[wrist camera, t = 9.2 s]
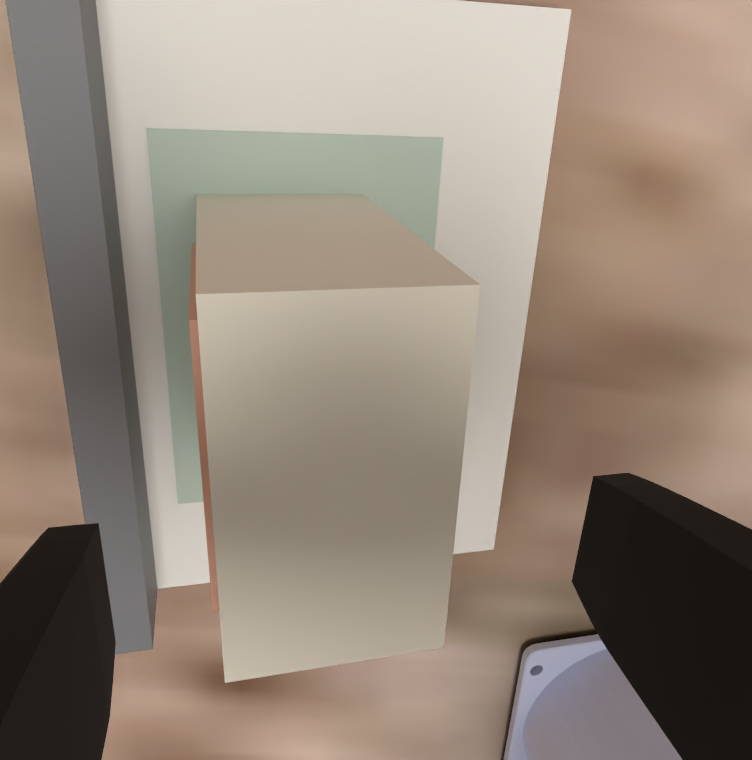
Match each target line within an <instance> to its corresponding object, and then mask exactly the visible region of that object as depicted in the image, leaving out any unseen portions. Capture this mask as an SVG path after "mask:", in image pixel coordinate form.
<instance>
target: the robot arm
mask: <svg viewBox="0 0 752 760" xmlns="http://www.w3.org/2000/svg"><path fill="white" fill-rule="evenodd" d="M572 583H573V585H574V587H575V589H576V591H577V593H578V595H579V597H580V600H581V602H582V604H583V606H584V608H585V610H586V612H587V614H588V616H589V618H590V620H591V622H592V624H593V626H594V627H595V629H596V631H597V633H598V634H596V635H589V636H583V637H576V638H570V639H563V640H556V641H550V642H543V643H537V644H533V645H530V646H529V647H527V648H526V649H525V651H524V652H523V655H522V660H521V665H520V671H519V676H518V682H517V688H516V693H515V699H514V704H513V710H512V715H511V721H510V727H509V732H508V738H507V743H506V749H505V755H504V760H752V529H749V528H747V527H745V526H743V525H741V524H739V523H737V522H735V521H733V520H731V519H729V518H727V517H725V516H723V515H721V514H719V513H717V512H714V511H712V510H710V509H708V508H706V507H704V506H702V505H700V504H698V503H696V502H694V501H692V500H690V499H688V498H686V497H683V496H681V495H679V494H677V493H675V492H673V491H671V490H669V489H666V488H664V487H662V486H660V485H657V484H655V483H653V482H651V481H648V480H646V479H643V478H641V477H638V476H635V475H633V474H630V473H622V474H612V475H601V476H593V481H592V486H591V491H590V495H589V500H588V505H587V510H586V515H585V520H584V525H583V530H582V535H581V539H580V544H579V549H578V554H577V559H576V564H575V569H574V574H573V579H572ZM115 645H116V641H115V634H114V627H113V620H112V613H111V606H110V599H109V592H108V585H107V578H106V571H105V564H104V557H103V550H102V543H101V536H100V529H99V523H94V524H83V525H73V526H62V527H52V528H48V529H47V530H46V531H45V532H44V533H43V534H42V535H41V536H40V537H39V538H38V539H37V541H36V542H35V543H34V544H33V545H32V546H31V547H30V549H29V550H28V551H27V552H26V553H25V555H24V556H23V557H22V558H21V559H20V561H19V562H18V563H17V564H16V565H15V566H14V568H13V569H12V570H11V571H10V572H9V574H8V575H7V576H6V577H5V578H4V579H3V581H2V582H1V583H0V760H101V759H102V753H103V748H104V743H105V738H106V733H107V728H108V723H109V717H110V707H111V696H112V684H113V671H114V658H115Z"/></svg>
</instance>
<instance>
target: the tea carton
mask: <svg viewBox="0 0 752 760" xmlns="http://www.w3.org/2000/svg"><path fill="white" fill-rule="evenodd" d="M479 293H480V284H479V283H478V282H476V281H475V280H474V279H472V278H471V277H470V276H468V275H467V274H466V273H465V272H463V271H462V270H461V269H459V268H458V267H457V266H455V265H454V264H453V263H452V262H450V261H449V260H448V259H446V258H445V257H444V256H442V255H441V254H440V253H439V252H437V251H436V250H435V249H433V248H432V247H431V246H429V245H428V244H427V243H426V242H424V241H423V240H422V239H420V238H419V237H418V236H416V235H415V234H414V233H412V232H411V231H410V230H409V229H407V228H406V227H405V226H403V225H402V224H401V223H399V222H398V221H397V220H396V219H394V218H393V217H392V216H390V215H389V214H388V213H386V212H385V211H384V210H383V209H381V208H380V207H379V206H377V205H376V204H375V203H373V202H372V201H371V200H370V199H368V198H367V197H366V196H364V195H363V194H197V204H196V243H192V245H191V272H190V300H189V329H190V342H191V354H192V366H193V379H194V391H195V403H196V416H197V428H198V440H199V453H200V465H201V477H202V490H203V502H204V514H205V527H206V539H207V551H208V564H209V576H210V588H211V601H212V612H217V611H220V624H221V638H222V651H223V664H224V677H225V683H227V682H233V681H239V680H246V679H252V678H258V677H264V676H271V675H277V674H283V673H290V672H296V671H302V670H308V669H315V668H321V667H327V666H333V665H340V664H346V663H352V662H359V661H365V660H371V659H377V658H384V657H390V656H396V655H402V654H409V653H415V652H421V651H428V650H434V649H440V648H444V641H445V631H446V621H447V611H448V601H449V591H450V581H451V572H452V562H453V552H454V542H455V532H456V522H457V512H458V502H459V492H460V482H461V472H462V462H463V452H464V442H465V433H466V423H467V413H468V403H469V393H470V383H471V373H472V363H473V353H474V343H475V333H476V323H477V313H478V303H479Z"/></svg>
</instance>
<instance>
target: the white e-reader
mask: <svg viewBox="0 0 752 760" xmlns="http://www.w3.org/2000/svg"><path fill="white" fill-rule="evenodd" d="M6 7H7V13H8V20H9V26H10V33H11V40H12V46H13V53H14V59H15V66H16V72H17V79H18V86H19V92H20V99H21V105H22V112H23V118H24V125H25V132H26V138H27V145H28V151H29V158H30V165H31V171H32V178H33V184H34V191H35V197H36V204H37V211H38V217H39V224H40V230H41V237H42V244H43V250H44V257H45V263H46V270H47V276H48V283H49V290H50V296H51V303H52V309H53V316H54V323H55V329H56V336H57V342H58V349H59V355H60V362H61V369H62V375H63V382H64V388H65V395H66V402H67V408H68V415H69V421H70V428H71V434H72V441H73V448H74V454H75V461H76V467H77V474H78V481H79V487H80V494H81V500H82V507H83V513H84V520H85V524H94V523H99V529H100V536H101V543H102V550H103V557H104V564H105V571H106V578H107V585H108V592H109V599H110V606H111V613H112V620H113V627H114V634H115V641H116V645H115V654H120V653H128V652H135V651H142V650H150V649H153V638H154V625H155V612H156V600H157V589H159V588H167V587H176V586H184V585H193V584H202V583H210V576H209V564H208V551H207V539H206V527H205V514H204V502H203V490H202V477H201V465H200V453H199V440H198V428H197V416H196V403H195V391H194V379H193V366H192V354H191V342H190V329H189V300H190V272H191V245H192V243H196V204H197V194H363V195H364V196H366V197H367V198H368V199H370V200H371V201H372V202H373V203H375V204H376V205H377V206H379V207H380V208H381V209H383V210H384V211H385V212H386V213H388V214H389V215H390V216H392V217H393V218H394V219H396V220H397V221H398V222H399V223H401V224H402V225H403V226H405V227H406V228H407V229H409V230H410V231H411V232H412V233H414V234H415V235H416V236H418V237H419V238H420V239H422V240H423V241H424V242H426V243H427V244H428V245H429V246H431V247H432V248H433V249H435V250H436V251H437V252H439V253H440V254H441V255H442V256H444V257H445V258H446V259H448V260H449V261H450V262H452V263H453V264H454V265H455V266H457V267H458V268H459V269H461V270H462V271H463V272H465V273H466V274H467V275H468V276H470V277H471V278H472V279H474V280H475V281H476V282H478V283H479V284H480V293H479V303H478V313H477V323H476V333H475V343H474V353H473V363H472V373H471V383H470V393H469V403H468V413H467V423H466V433H465V442H464V452H463V462H462V472H461V482H460V492H459V502H458V512H457V522H456V532H455V542H454V552H453V554H458V553H467V552H475V551H484V550H493V549H494V543H495V536H496V529H497V522H498V516H499V509H500V502H501V495H502V488H503V481H504V474H505V467H506V460H507V453H508V446H509V439H510V432H511V425H512V418H513V411H514V405H515V398H516V391H517V384H518V377H519V370H520V363H521V356H522V349H523V342H524V335H525V328H526V321H527V314H528V307H529V300H530V293H531V287H532V280H533V273H534V266H535V259H536V252H537V245H538V238H539V231H540V224H541V217H542V210H543V203H544V196H545V189H546V182H547V176H548V169H549V162H550V155H551V148H552V141H553V134H554V127H555V120H556V113H557V106H558V99H559V92H560V85H561V78H562V71H563V65H564V58H565V51H566V44H567V37H568V30H569V23H570V16H571V9H559V8H547V7H534V6H522V5H510V4H497V3H485V2H472V1H460V0H6Z"/></svg>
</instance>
